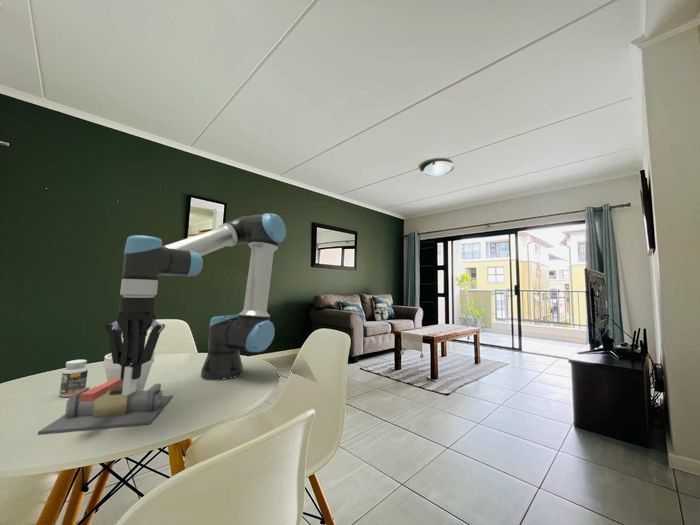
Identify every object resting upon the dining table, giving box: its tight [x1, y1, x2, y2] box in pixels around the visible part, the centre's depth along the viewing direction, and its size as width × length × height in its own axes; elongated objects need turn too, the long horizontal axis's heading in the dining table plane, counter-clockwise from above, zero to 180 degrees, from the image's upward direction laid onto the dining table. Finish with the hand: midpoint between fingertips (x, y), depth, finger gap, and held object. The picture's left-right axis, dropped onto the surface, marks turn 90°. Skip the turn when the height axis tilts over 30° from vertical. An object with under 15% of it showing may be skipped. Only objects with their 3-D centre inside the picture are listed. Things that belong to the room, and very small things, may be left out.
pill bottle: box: [59, 359, 89, 398], centre depth 88 cm, size 6×6×10 cm
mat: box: [37, 394, 174, 435], centre depth 76 cm, size 22×18×1 cm
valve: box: [64, 383, 163, 419], centre depth 76 cm, size 20×7×6 cm, turn 106°
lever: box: [79, 378, 123, 402], centre depth 71 cm, size 14×4×3 cm, turn 11°
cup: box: [102, 350, 155, 391], centre depth 85 cm, size 12×12×14 cm
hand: (128, 392), depth 69 cm, fingers closed
